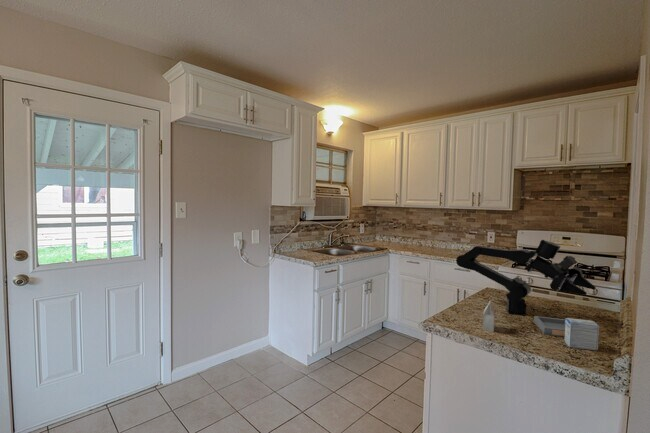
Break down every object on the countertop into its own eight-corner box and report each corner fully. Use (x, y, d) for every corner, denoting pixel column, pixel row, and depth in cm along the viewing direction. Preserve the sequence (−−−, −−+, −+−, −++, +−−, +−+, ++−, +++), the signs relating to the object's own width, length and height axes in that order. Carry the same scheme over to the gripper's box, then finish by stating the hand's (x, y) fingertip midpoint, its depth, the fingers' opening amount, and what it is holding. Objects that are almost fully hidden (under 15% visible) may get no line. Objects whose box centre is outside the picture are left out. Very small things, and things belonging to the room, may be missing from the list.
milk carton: (482, 330, 119) (483, 304, 119) (483, 324, 125) (484, 299, 124) (493, 332, 117) (494, 305, 117) (494, 326, 123) (495, 301, 123)
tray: (544, 334, 116) (544, 328, 115) (533, 321, 128) (534, 315, 128) (580, 339, 112) (581, 332, 112) (566, 325, 124) (566, 319, 124)
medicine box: (591, 345, 107) (593, 320, 107) (598, 351, 103) (599, 325, 103) (563, 341, 110) (565, 317, 109) (569, 347, 106) (570, 321, 105)
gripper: (546, 255, 122) (592, 278, 110) (565, 248, 132) (610, 268, 121) (533, 279, 126) (577, 303, 115) (553, 270, 136) (595, 292, 125)
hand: (590, 291), depth 119 cm, fingers open, 9 cm apart
